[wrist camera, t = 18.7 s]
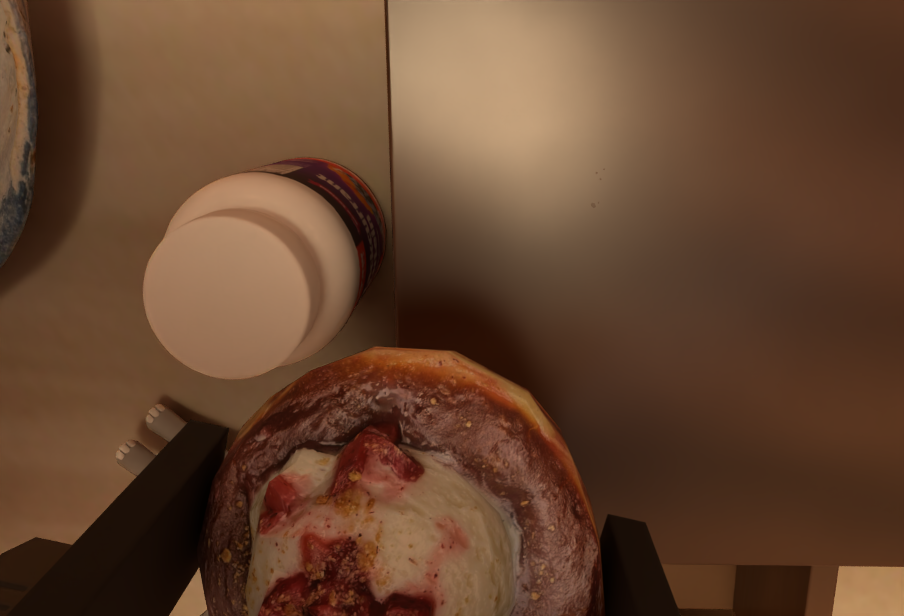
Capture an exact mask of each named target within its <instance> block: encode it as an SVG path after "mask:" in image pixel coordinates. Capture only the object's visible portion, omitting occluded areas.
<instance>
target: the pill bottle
mask: <svg viewBox="0 0 904 616" xmlns="http://www.w3.org/2000/svg"><path fill="white" fill-rule="evenodd" d="M385 246H386V228H385V222H384V217H383V214H382V211H381V208H380V206H379V204H378V202H377V200H376V198H375V197H374V195H373V194H372V192H371V191H370V189H369V188H368V187H367V185H366V184H365V183H364V182H363V181H362V180H361V179H360V178H359V177H357V176H356V175H355V174H354V173H352V172H351V171H349V170H348V169H346V168H344V167H342V166H341V165H339V164H336V163H333V162H331V161H327V160H323V159H318V158H295V159H289V160H284V161H280V162H277V163H273V164H269V165H265V166H262V167H258V168H255V169H251V170H247V171H244V172H240V173H236V174H233V175H230V176H227V177H224V178H221V179H219V180H217V181H214V182H212V183H210V184H208V185H206V186H205V187H203V188H201V189H200V190H198V191H197V192H196V193H194V194H193V195H192V196H190V197H189V198H188V199H187V200H186V201H185V202H184V203H183V205H182V206H181V207H180V208H179V210H178V211H177V212H176V214H175V215H174V216H173V218H172V220H171V222H170V224H169V226H168V228H167V230H166V233H165V236H164V239H163V240H162V241H161V243H160V244H159V245H158V246H157V248H156V249H155V251H154V252H153V254H152V256H151V258H150V260H149V262H148V265H147V267H146V271H145V276H144V282H143V302H144V307H145V312H146V316H147V319H148V321H149V324H150V326H151V328H152V330H153V332H154V334H155V335H156V337H157V338H158V340H159V341H160V343H161V344H162V345H163V346H164V348H165V349H166V350H167V351H168V352H169V353H170V354H171V355H172V356H173V357H175V358H176V359H177V360H178V361H180V362H181V363H183V364H184V365H186V366H187V367H189V368H190V369H193V370H195V371H197V372H200V373H202V374H205V375H207V376H211V377H215V378H221V379H245V378H251V377H255V376H259V375H261V374H264V373H266V372H268V371H270V370H272V369H274V368H276V367H279V366H286V365H289V364H293V363H296V362H299V361H301V360H303V359H306V358H308V357H310V356H311V355H313V354H315V353H317V352H318V351H319V350H321V349H322V348H323V347H325V346H326V345H327V344H328V343H329V342H330V341H331V340H332V339H334V337H335V336H336V335H337V334H338V333H339V332H340V330H341V329H342V328H343V327H344V325H345V324H346V323H347V321H348V319H349V317H350V316H351V314H352V312H353V310H354V308H355V307H356V305H357V304H358V302H359V301H360V299H361V297H362V296H363V294H364V293H365V291H366V290H367V288H368V287H369V285H370V284H371V282H372V281H373V279H374V277H375V276H376V274H377V272H378V270H379V267H380V265H381V262H382V260H383V256H384V252H385Z"/></svg>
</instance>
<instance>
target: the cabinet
mask: <svg viewBox="0 0 904 616" xmlns="http://www.w3.org/2000/svg"><path fill="white" fill-rule="evenodd" d="M384 5H385V34H386V63H387V93H388V122H389V151H390V181H391V210H392V239H393V269H394V298H395V327H396V348H412V349H432V350H451V351H456V352H458V353H460V354H462V355H464V356H465V357H467V358H469V359H471V360H473V361H475V362H477V363H479V364H480V365H482V366H484V367H486V368H488V369H490V370H492V371H494V372H496V373H497V374H499V375H501V376H503V377H505V378H507V379H509V380H511V381H512V382H514V383H516V384H518V385H520V386H522V387H524V388H526V389H527V390H529V392H530V393H531V394H532V395H533V396H534V398H535V399H536V400H537V401H538V403H539V404H540V405H541V406H542V407H543V409H544V410H545V411H546V412H547V414H548V415H549V416H550V417H551V418H552V420H553V421H554V422H555V423H556V425H557V426H558V427H559V428H560V430H561V432H562V434H563V437H564V439H565V441H566V444H567V446H568V448H569V451H570V453H571V455H572V458H573V460H574V462H575V465H576V467H577V469H578V472H579V474H580V476H581V479H582V481H583V483H584V486H585V488H586V490H587V493H588V495H589V497H590V501H591V505H592V509H593V514H594V518H595V522H596V527H597V531H598V535H599V540H600V536H601V533H602V530H603V527H604V524H605V521H606V517H607V514H611V515H615V516H620V517H624V518H629V519H633V520H637V521H642V522H646V525H647V527H648V530H649V533H650V535H651V538H652V541H653V543H654V546H655V549H656V551H657V554H658V557H659V559H660V562H661V564H682V565H781V566H880V567H904V0H384Z"/></svg>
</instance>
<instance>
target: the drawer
mask: <svg viewBox="0 0 904 616" xmlns="http://www.w3.org/2000/svg"><path fill="white" fill-rule="evenodd" d="M661 565H662V567H663V570H664V573H665V575H666V578H667V581H668V583H669V586H670V589H671V591H672V594H673V597H674V599H675V602H676V604H677V607H678V609H733V612H734V614H735V616H832V611H833V604H834V597H835V590H836V583H837V576H838V569H839V566H781V565H682V564H661Z"/></svg>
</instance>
